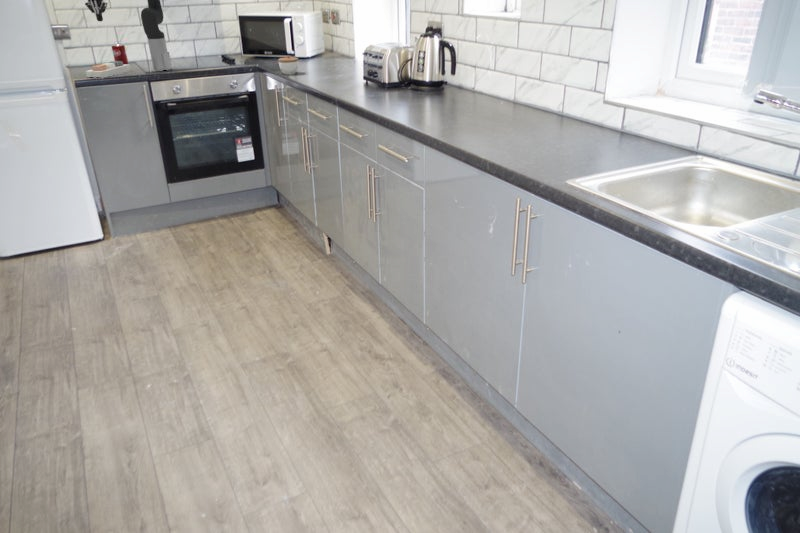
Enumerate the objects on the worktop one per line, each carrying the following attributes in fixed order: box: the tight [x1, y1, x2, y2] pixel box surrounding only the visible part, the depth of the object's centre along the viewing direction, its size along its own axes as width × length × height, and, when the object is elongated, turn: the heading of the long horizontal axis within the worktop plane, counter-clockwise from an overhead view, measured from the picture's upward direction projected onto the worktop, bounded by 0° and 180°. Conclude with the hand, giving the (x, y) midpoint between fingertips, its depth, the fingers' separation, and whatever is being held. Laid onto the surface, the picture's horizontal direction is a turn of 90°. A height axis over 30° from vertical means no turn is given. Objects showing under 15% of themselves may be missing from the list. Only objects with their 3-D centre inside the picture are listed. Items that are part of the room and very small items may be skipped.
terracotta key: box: [91, 64, 107, 71], centre depth 327 cm, size 5×5×4 cm
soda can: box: [111, 44, 130, 65], centre depth 358 cm, size 7×7×12 cm
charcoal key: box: [108, 60, 123, 67], centre depth 339 cm, size 5×5×4 cm
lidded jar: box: [277, 55, 299, 76], centre depth 323 cm, size 11×11×9 cm
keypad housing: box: [85, 64, 132, 78], centre depth 334 cm, size 10×24×4 cm, turn 166°
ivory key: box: [100, 62, 115, 69], centre depth 333 cm, size 5×5×4 cm
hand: (100, 21), depth 330 cm, fingers closed
